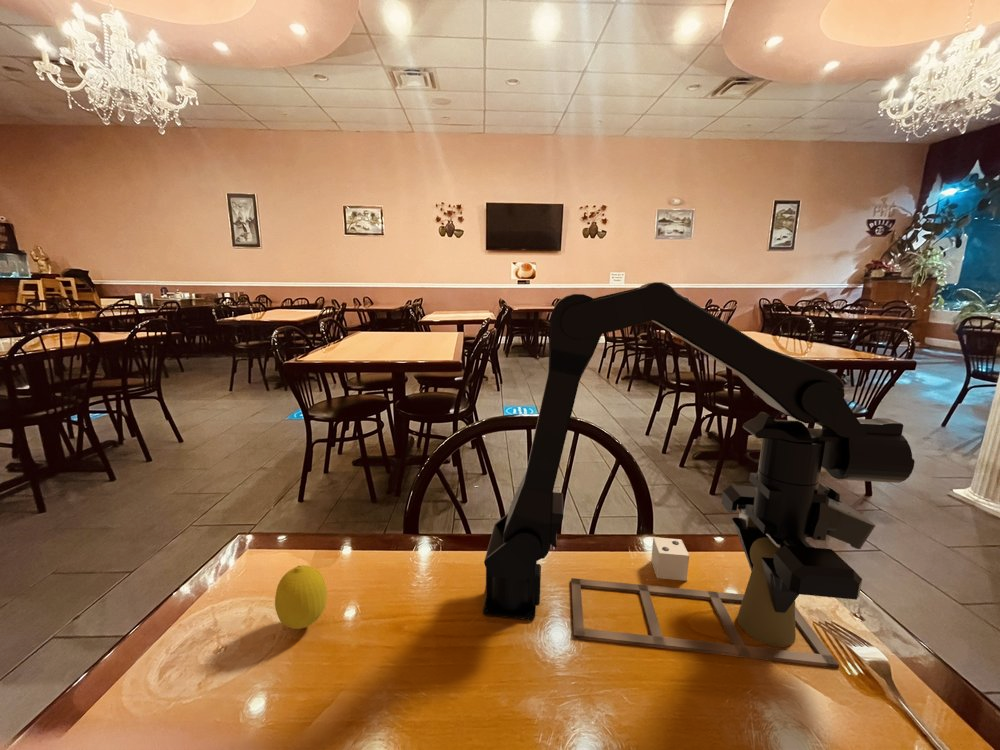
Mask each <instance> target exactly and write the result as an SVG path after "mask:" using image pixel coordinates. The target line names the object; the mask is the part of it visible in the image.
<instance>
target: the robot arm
mask: <svg viewBox="0 0 1000 750" xmlns="http://www.w3.org/2000/svg"><path fill="white" fill-rule="evenodd" d="M647 322H653V323H655V324H656V325H658V326H660V327H661V328H662V329H664V330H665V331H668V332H669V333H670V334H672V335H674V336H676V337H678V338H679V339H681V340H682V341H684V342H686V343H687V344H689V345H690V346H692V347H694V348H695V349H697V350H698V351H700V352H702V353H703V354H705V355H707V356H708V357H709V358H712V359H714V361H716V362H719V363H720V364H721V365H723V366H725V367H726V368H728V369H730V370H731V371H733V373H734V374H736V376H738V378H740V379H741V380H742V381H743V382H744V383H745V384H746V387H748V389H749V388H750V390H751V391H753V392H754V394H756V395H757V396H758V397H759V398H760V399H762V401H764V402H765V403H766V405H769V406H770V407H772V408H774V409H775V410H778V411H780V412H781V413H783V414H785V415H787V416H789V417H791V418H793V419H794V420H790V419H789V420H787V419H774V417H773V416H771V415H769V414H768V413H767V412H764V411H760V412H759V413H758V414H757V415H756V416H755V417H754V418H751V419H749V420H747V421H746V422H744V423H743V425H742V428H743V429H744V430H745V431H747V432H748V433H749V434H751V435H752V436H754V437H755V438H757V439H761V445H760V451H759V452H760V454H759V459H758V460H759V462H758V468H757V469H758V470H757V472H750V473H749V478H748V481H749V482H750V483H751V484H752V485H753V486H749V485H736V484H735V485H733V484H731V485H729V486H728V487H726V488H725V489H723V490H722V496H721V504H722V506H723V507H724V508H725V510H726V511H727V512H728V513H732V514H733V513H735V512H736V511H738V510H739V512H738V513H739V515H738V517H732V518H731V521H732V524H733V526H734V528H735V531H736V533H737V535H738V538H739V541H740V544H741V547H742V549H743V552H744V554H745V557H746V559H747V563H748V565H749V569H750V572H752V569H753V563H752V562H751V559H750V548H751V546H752V544H753V542H754V541H755V540H757V539H759V538H763V537H769V539H770V540H771V541H772V542H773V543H774V544H775V545H776V546H777V547H780V548H781V549H779V550H778V551H776V552H775V554H774V558H765V557H762V563H763V567H764V572H765V575H766V580H767V584H768V588H769V593H770V597H771V601H772V604H773V607H774V610H775V611H776V612H780V613H785V612H786V611H787V610H788V609H789V607H790V606H791V605H792V604H793V602H794V601H795V602H796V600H797V598H798V597H799V596H800V595H802V596H803V595H804V596H812V597H824V598H825V597H827V598H834V599H846V600H858V598H859V597H860V594H861V588H862V583H863V578H862V577H861V576H860V575H859V574H858V573H857V572H856V570H855V569H853V567H851V566H850V565H849V564H848V563H847V562H846V561H845V560H843V558H842V557H840V556H839V555H838V554H837V553H836V552H835V551H834V550H833V549H832V548H825V547H824V548H823V547H813V545H810V544H809V543H808V541H806V540H807V538H811V539H812V540H814V541H823V542H825V541H826V540H827V536H829V537H831V538H834V539H836V540H839V541H841V542H844V543H846V544H849V545H850V547H851V548H854V549H857V550H861V549H862V547H863V546H864V544H865V543H866V541H867V540H868V539H869V537H870V535H871V533H872V532H873V531H874V529H875V527H876V524H875V523H874V522H873V521H871V520H869V518H866V516H864V515H862V514H861V513H860V512H859V511H857V510H856V509H854V508H853V507H851V506H850V505H847V503H845V502H843V501H840V500H841V499H840V498H841V495H840V493H839V492H838V491H837V490H836V489H834V488H832V487H831V486H829V485H826V484H823V483H822V482H820V479H821V474H822V473H821V472H822V468H823V469H824V470H826V472H827V473H828V474H829V475H830V476H831V477H832V478H834V479H836V480H845V481H846V480H847V481H858V482H859V481H861V482H876V483H894V484H895V483H898V484H899V483H900V484H901V483H902V482H905V481H906V480H907V479H909V477H910V476H911V474H912V473H913V471H914V467H915V463H916V462H915V459H914V458H913V452H912V449H911V448H912V447H911V446H910V444H909V442H908V440H907V439H906V437H905V436H904V435H903V431H904V424H903V423H901V422H899V421H896V420H893V419H891V418H884V417H883V418H881V417H877V418H876V417H875V418H871V419H870V418H869V419H867V418H866V419H865V418H858V417H857V416H856V415H855V413H854V411H853V410H852V408H851V407H850V405H849V404H848V403H847V401H846V399H845V382H844V381H843V380H842V378H840V377H839V376H838V375H837V374H836V373H834V372H832V371H830V370H827V369H825V368H822V367H819V366H817V365H814V364H812V363H809V362H806V361H804V360H801V359H798V358H795V357H793V356H790V355H787V354H785V353H782V352H779V351H776V350H774V349H771V348H769V347H766V346H764V345H763V344H762V343H760V342H758V341H756V340H755V339H754V338H752V337H750V336H748V335H747V334H745V333H743V332H742V331H740V330H739V329H737V328H735V327H734V326H732V325H730V324H729V323H727V322H725V321H724V320H722V319H721V318H719V317H717V316H715V315H714V314H712V313H711V312H709V311H707V310H705V309H704V308H703V307H701V306H699V305H698V304H696V303H695V302H692V301H691V300H689V299H688V298H687V297H684V296H683V295H681V294H679V292H677V291H676V290H675V289H674V288H673V287H672V286H671V285H669V284H668V283H665V282H662V281H661V282H660V281H659V282H658V281H656V282H655V281H653V282H648V283H645V284H642V285H640V286H639V287H636V288H631V289H627V290H623V291H620V292H619V291H618V292H614V293H611V294H610V293H609V294H606V295H601V296H597V297H592V296H590V295H587V294H583V293H582V294H581V293H580V294H579V293H572V294H569V295H566V296H564V297H562V298H561V299H559V300H558V301H557V302H556V303H555V305H554V307H553V309H552V312H551V314H550V321H549V345H548V347H549V349H548V370H547V371H548V373H547V376H546V377H547V378H546V382H545V386H544V390H543V395H542V398H541V404H540V407H539V412H538V416H537V423H536V425H535V430H534V431H535V432H534V435H533V441H532V443H531V448H530V453H529V458H528V462H527V467H526V471H525V473H524V475H523V478H522V479H521V481H520V483H519V485H518V486H517V489H516V492H515V494H514V496H513V499H512V501H511V503H510V506H509V509H508V513H506V514H505V515H504V516H502V517H501V518H500V519H499V520H497V521H496V522H495V523H494V525H493V527H492V533H491V536H490V540H489V543H488V546H487V550H486V554H485V557H484V561H483V564H484V566H485V599H484V603H483V606H482V607H483V608H482V614H483V615H485V616H492V617H499V618H500V617H502V618H509V619H510V618H511V619H519V620H530V621H531V620H532V621H533V620H535V618H536V610H537V608H536V607H538V606H540V602H541V601H540V600H541V580H542V565H541V564H540V563H537V562H538V561H540V560H541V559H543V560H544V559H545V558H546V557H547V556H548V554H549V552H550V549H551V546H552V547H554V548H557V546H558V539H557V538H558V531H559V528H560V527H561V524H562V521H563V519H564V493H563V492H554V488H555V485H556V480H557V477H558V472H559V468H560V463H561V460H562V455H563V450H564V446H565V442H566V439H567V434H568V431H569V426H570V423H571V422H570V421H571V417H572V413H573V409H574V404H575V400H576V398H577V397H576V396H577V392H578V388H579V384H580V381H581V378H582V377H583V374H584V373H585V370H586V369H587V366H589V363H590V362H591V359H592V357H593V356H594V354H595V352H596V351H595V350H596V349H597V347H598V345H599V342H600V339H601V338H602V335H604V334H608V333H612V332H615V331H617V332H618V331H620V330H624V329H627V328H631V327H634V326H636V325H641V324H643V323H647ZM805 424H808V425H809V424H810V425H813V424H816V425H818V426H819V427H822V428H815V427H814V428H812V427H807V426H806V425H805ZM737 509H738V510H737Z"/></svg>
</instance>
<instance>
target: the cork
mask: <svg viewBox="0 0 1000 750" xmlns="http://www.w3.org/2000/svg"><path fill="white" fill-rule="evenodd" d="M779 549H781V548H780V547H777V546H776V545H775V544H774V543H773V542H772V541H771V540H770V539H769V537H763V538H759V539H757V540H755V541H754V542H753V544H752V546H751V548H750V559H751V562H752V563H753V569H752V571H750V575H749V578H748V582H747V583H746V584H747V585H746V588H745V591H744V597H743V600H742V603H740V607H739V610H738V612H737V617H736V618H737V623H738V624H739V626H740V628H741V629H742V630H743V631H744V632H745V633H747V635H749V636H750V637H752V638H753V639H755V640H757V641H758V642H761V643H763V644H765V645H769V646H773V647H777V648H778V647H780V648H786V647H789V646H791V645H793V644H794V643H795V642H796V623H795V607H796V600H795V601H794V602H793V604H792V605H791V606H790V607H789V609H788V610H787V611H786V612H785V613H780V612H776V611H775V610H774V607H773V604H772V601H771V597H770V593H769V588H768V584H767V580H766V575H765V572H764V567H763V563H762V557H765V558H774V554H775V552H776V551H778V550H779Z"/></svg>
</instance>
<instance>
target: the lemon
mask: <svg viewBox="0 0 1000 750" xmlns="http://www.w3.org/2000/svg"><path fill="white" fill-rule="evenodd" d="M327 589H328V588H327V584H326V581H325V578H324V576H323V574H322V573H321V571H320V570H318V568H316V567H314V566H311V565H308V564H307V565H304V564H303V565H297V566H295V567H292V568H291V569H290V570H288V571H286V573H285V574H284V575H283V576H282V577H281V579H280V580H279V582H278V584H277V587H276V592H275V598H274V607H275V611H276V616H277V618H278V619H279V621H280V623H282V625H284V626H286V627H287V628H290V629H293V630H300V629H305V628H307V627H309V626H312V625H313V624H314V623H315V622H316V621H318V619H319V618H320V617H321V615H322V614H323V612H324V610H325V608H326V605H327V599H328V590H327Z"/></svg>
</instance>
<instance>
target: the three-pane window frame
mask: <svg viewBox="0 0 1000 750" xmlns="http://www.w3.org/2000/svg"><path fill="white" fill-rule="evenodd" d="M570 580H571V583H570V584H571V602H572V603H571V605H572V607H571V608H572V624H573V625H572V626H573V628H572V629H573V638H574V639H579V640H587V641H588V640H589V641H597V642H604V643H605V642H606V643H607V642H608V643H616V644H622V645H623V644H625V645H631V646H632V645H633V646H641V647H642V646H643V647H650V648H651V647H652V648H659V649H670V650H675V651H676V650H677V651H685V652H695V653H703V654H713V655H719V656H720V655H721V656H731V657H739V658H748V659H756V660H758V659H759V660H766V661H774V662H785V663H791V664H792V663H793V664H801V665H808V666H809V665H811V666H818V667H819V666H820V667H828V668H836V669H837V668H838V669H839V668H840V664H839V662H838V661H837V659H836V658H835V657H834V656H833V654H832V653H831V652H830V650H829V649H828V648H827V647H826V645H825V644H824V642H823V641H822V640H821V638H820V637H819V636H818V634H817V633H816V632H815V630H814V629H813V628H812V627H811V625H810V623H808V621H807V620H806V618H805V617H804V616H803V615H802V614H801V612H800V611H799V609H798V608H797V607H796V606H795V626H796V627H797V628H798V629H799V630H800V632H801V633H802V634H803V636H804V637H805V639H806V640H807V641H808V643H809V644H810V646H811V647H812V648H813V650H814V651H815V652H816V653H815V652H804V651H803V652H802V651H794V650H786V649H776V648H768V647H759V646H757V647H756V646H751V645H749V646H748V645H746V644H745V642H744V640H743V638H742V637H741V635H740V633H739V631H738V629H737V628H736V626H735V623H734V622H733V620H732V618H731V616H730V614H729V612H728V610H727V609H726V607H725V605H724V603H723V602H729V603H736V604H737V603H740V604H741V603H742V600H743V597H744V594H745V593H744V594H743V593H731V592H723V591H711V590H702V589H701V590H700V589H690V588H680V587H678V588H677V587H671V586H670V587H668V586H659V585H647V584H638V583H637V584H636V583H628V582H627V583H626V582H617V581H606V580H597V579H596V580H593V579H585V578H575V577H572V578H571V579H570ZM582 588H585V589H593V590H605V591H606V590H607V591H616V592H626V593H635V594H639V596H640V600H641V605H642V607H643V610H644V615H645V619H646V623H647V626H648V630H649V632H650V633H649V635H648V634H639V633H632V632H631V633H629V632H621V631H612V630H604V629H594V628H586V627H585V625H584V613H583V611H584V610H583V601H582V599H583V598H582ZM651 595H656V596H666V597H677V598H687V599H697V600H699V599H700V600H707V601H708V600H709V601H710V602H711V604H712V606H713V609H714V610H715V613H716V615H717V617H718V619H719V621H720V623H721V624H722V627H723V628H724V629H723V630H725V633H726V635H727V637H728V639H729V640H730V642H731V644H730V643H723V642H722V643H720V642H715V641H714V642H713V641H702V640H695V639H694V640H693V639H685V638H684V639H683V638H676V637H667V636H663V633H662V630H661V626H660V623H659V619H658V617H657V613H656V610H655V607H654V603H653V600H652V597H651Z"/></svg>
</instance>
